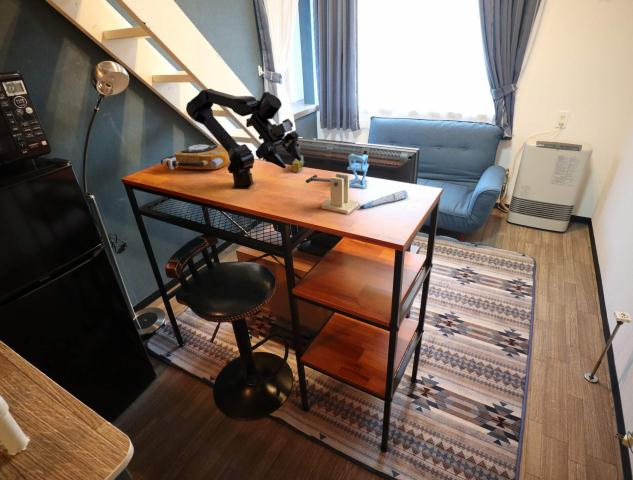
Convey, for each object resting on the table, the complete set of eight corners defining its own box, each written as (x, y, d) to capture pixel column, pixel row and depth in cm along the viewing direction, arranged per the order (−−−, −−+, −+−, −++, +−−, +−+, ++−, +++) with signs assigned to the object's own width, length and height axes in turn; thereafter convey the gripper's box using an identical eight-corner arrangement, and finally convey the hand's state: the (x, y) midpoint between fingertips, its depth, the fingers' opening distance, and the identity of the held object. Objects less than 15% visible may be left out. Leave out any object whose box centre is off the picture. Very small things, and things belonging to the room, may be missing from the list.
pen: (402, 195, 122) (403, 188, 121) (408, 198, 120) (409, 191, 118) (356, 208, 115) (356, 200, 113) (362, 211, 112) (362, 203, 111)
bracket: (321, 208, 116) (320, 177, 110) (332, 199, 122) (332, 170, 116) (347, 214, 111) (348, 182, 106) (358, 204, 117) (359, 174, 111)
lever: (306, 184, 116) (305, 178, 115) (314, 179, 120) (313, 173, 119) (339, 188, 110) (339, 180, 109) (347, 182, 114) (347, 175, 113)
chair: (370, 181, 136) (371, 150, 130) (364, 188, 129) (365, 157, 123) (351, 178, 139) (352, 149, 133) (344, 186, 132) (344, 155, 126)
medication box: (299, 164, 158) (297, 155, 156) (304, 163, 157) (303, 155, 156) (293, 172, 148) (291, 163, 146) (299, 171, 147) (297, 162, 145)
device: (215, 157, 143) (153, 154, 149) (219, 176, 147) (158, 173, 154) (239, 143, 161) (183, 141, 168) (241, 160, 166) (187, 158, 172)
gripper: (258, 117, 106) (289, 157, 106) (292, 107, 119) (320, 142, 120) (242, 140, 114) (272, 177, 114) (276, 128, 127) (303, 161, 128)
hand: (293, 163), depth 119 cm, fingers open, 9 cm apart
